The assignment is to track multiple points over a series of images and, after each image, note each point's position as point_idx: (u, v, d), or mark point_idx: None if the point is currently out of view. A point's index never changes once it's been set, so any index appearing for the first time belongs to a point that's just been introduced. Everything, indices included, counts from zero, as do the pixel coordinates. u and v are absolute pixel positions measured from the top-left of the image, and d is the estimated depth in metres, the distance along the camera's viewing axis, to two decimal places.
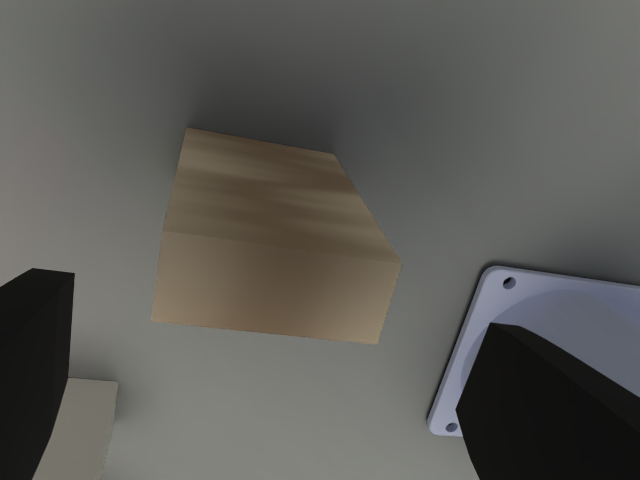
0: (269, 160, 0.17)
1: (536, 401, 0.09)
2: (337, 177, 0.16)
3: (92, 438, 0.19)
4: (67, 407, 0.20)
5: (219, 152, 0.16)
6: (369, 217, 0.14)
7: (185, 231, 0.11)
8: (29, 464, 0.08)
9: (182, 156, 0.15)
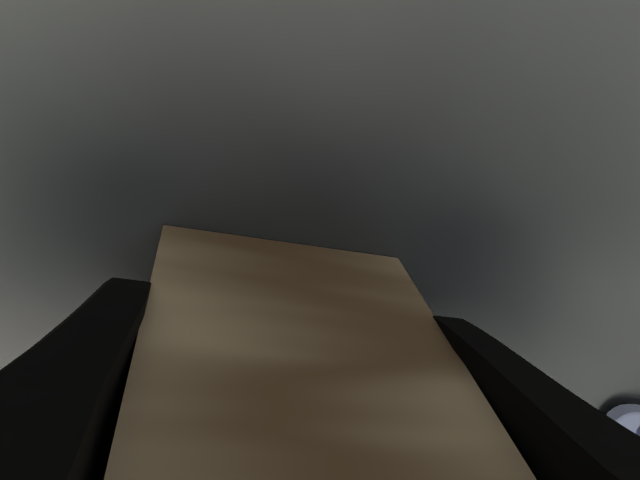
0: (302, 293, 0.10)
1: None
2: (420, 324, 0.10)
3: None
4: None
5: (217, 287, 0.09)
6: (514, 457, 0.07)
7: None
8: None
9: (148, 310, 0.08)
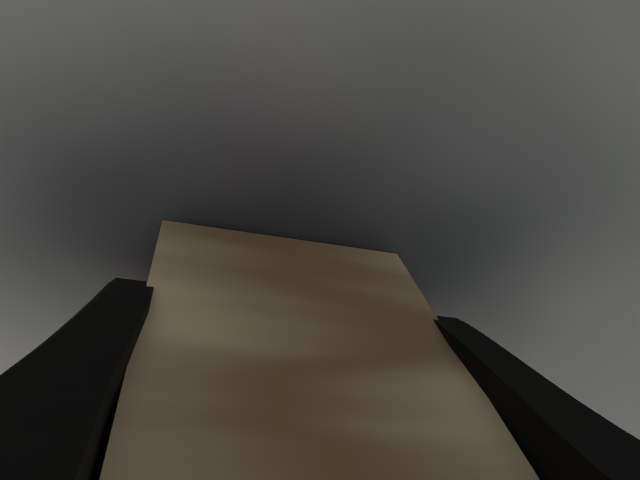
0: (302, 288, 0.10)
1: None
2: (419, 319, 0.10)
3: None
4: None
5: (215, 281, 0.09)
6: (513, 450, 0.07)
7: None
8: None
9: None
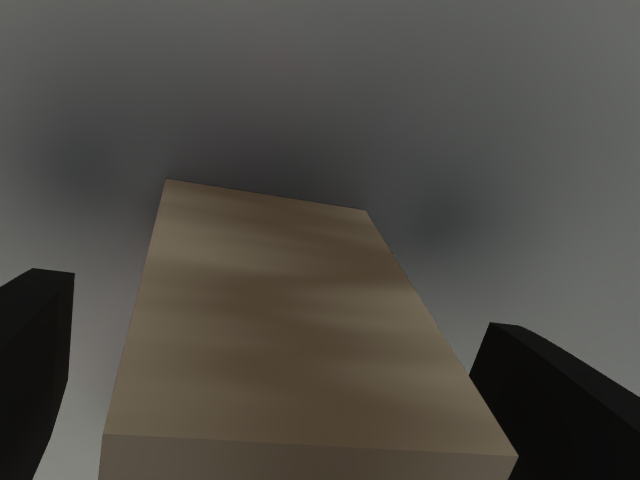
0: (282, 230, 0.12)
1: (536, 401, 0.09)
2: (378, 255, 0.12)
3: None
4: None
5: (210, 223, 0.11)
6: (439, 339, 0.09)
7: (147, 428, 0.06)
8: (29, 464, 0.08)
9: (156, 234, 0.10)
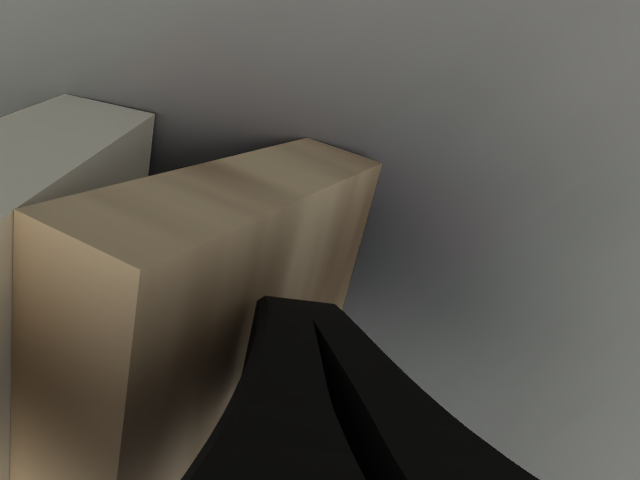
0: (321, 285, 0.12)
1: None
2: None
3: None
4: None
5: (333, 226, 0.12)
6: None
7: (143, 299, 0.07)
8: None
9: (325, 191, 0.11)
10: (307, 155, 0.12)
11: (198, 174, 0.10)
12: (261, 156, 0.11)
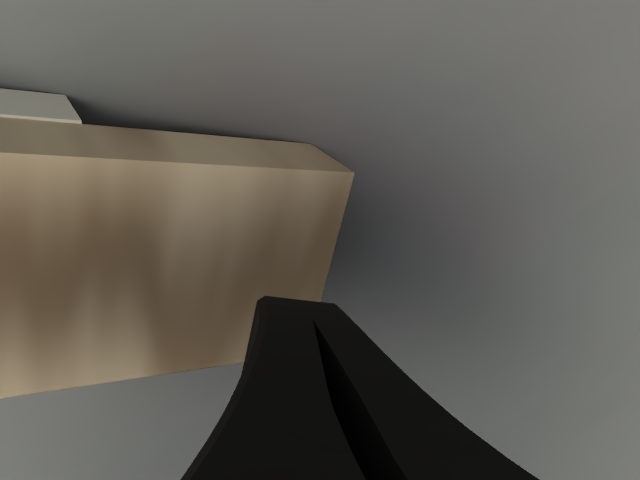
0: (249, 276, 0.12)
1: None
2: (210, 354, 0.13)
3: None
4: None
5: (256, 215, 0.12)
6: (68, 383, 0.11)
7: None
8: None
9: (223, 168, 0.11)
10: (270, 149, 0.13)
11: (111, 131, 0.11)
12: (212, 139, 0.12)
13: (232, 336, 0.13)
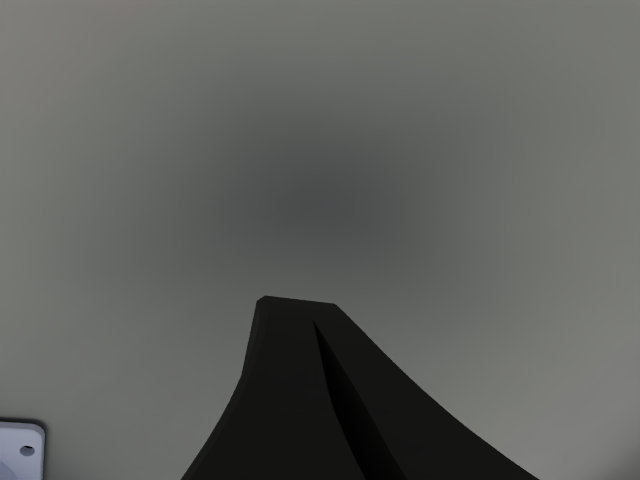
0: None
1: None
2: None
3: None
4: None
5: None
6: None
7: None
8: None
9: None
10: None
11: None
12: None
13: None
